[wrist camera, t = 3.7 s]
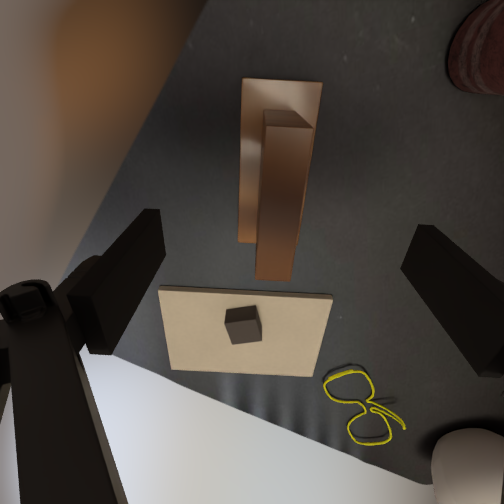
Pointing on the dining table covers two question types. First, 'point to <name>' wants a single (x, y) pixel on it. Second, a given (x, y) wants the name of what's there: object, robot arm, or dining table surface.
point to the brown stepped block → (275, 168)
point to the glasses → (364, 406)
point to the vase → (468, 467)
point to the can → (480, 51)
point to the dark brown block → (243, 325)
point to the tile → (247, 354)
